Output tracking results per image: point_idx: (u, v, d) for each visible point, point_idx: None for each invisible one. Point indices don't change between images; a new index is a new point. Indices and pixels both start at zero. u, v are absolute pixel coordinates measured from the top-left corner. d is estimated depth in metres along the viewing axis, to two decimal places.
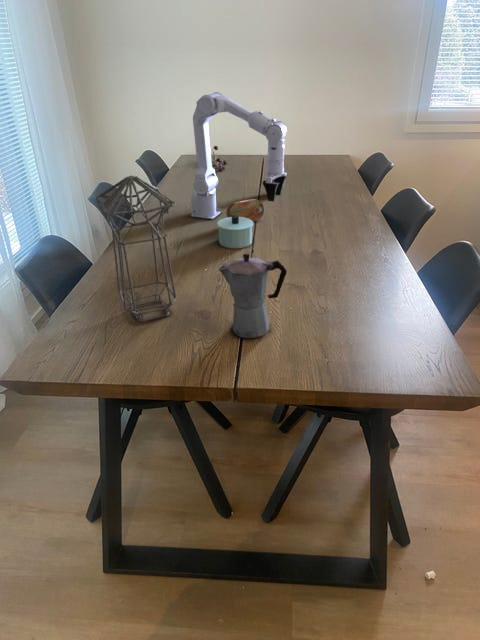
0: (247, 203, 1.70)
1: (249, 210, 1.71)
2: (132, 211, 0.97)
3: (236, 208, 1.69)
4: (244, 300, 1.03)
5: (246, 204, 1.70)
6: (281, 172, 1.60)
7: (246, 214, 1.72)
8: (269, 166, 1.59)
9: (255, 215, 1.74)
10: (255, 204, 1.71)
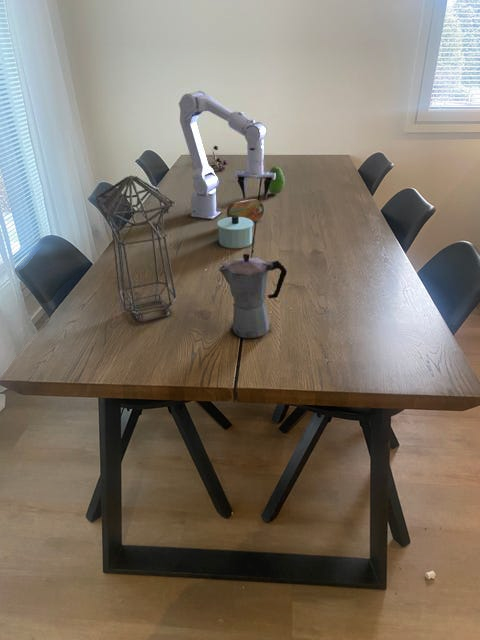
0: (247, 203, 1.70)
1: (249, 210, 1.71)
2: (132, 211, 0.97)
3: (236, 208, 1.69)
4: (244, 300, 1.03)
5: (246, 204, 1.70)
6: (251, 173, 1.61)
7: (246, 214, 1.72)
8: None
9: (256, 215, 1.74)
10: (255, 204, 1.71)
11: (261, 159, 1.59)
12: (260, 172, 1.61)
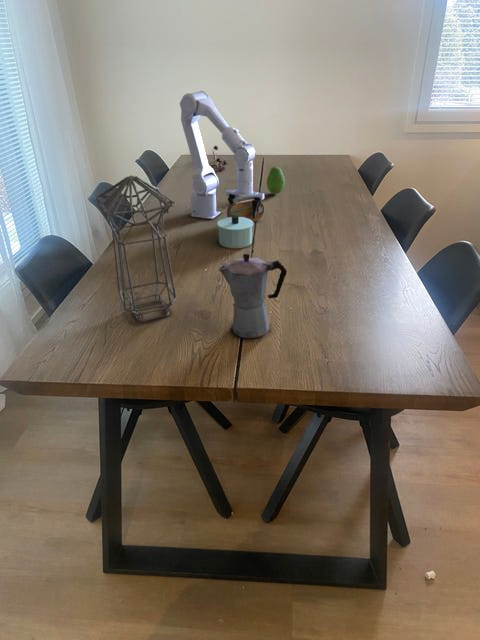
0: (247, 203, 1.70)
1: (249, 210, 1.71)
2: (132, 211, 0.97)
3: (236, 208, 1.68)
4: (244, 300, 1.03)
5: (246, 204, 1.70)
6: (239, 192, 1.66)
7: (247, 214, 1.72)
8: None
9: None
10: None
11: (250, 179, 1.63)
12: (248, 192, 1.65)
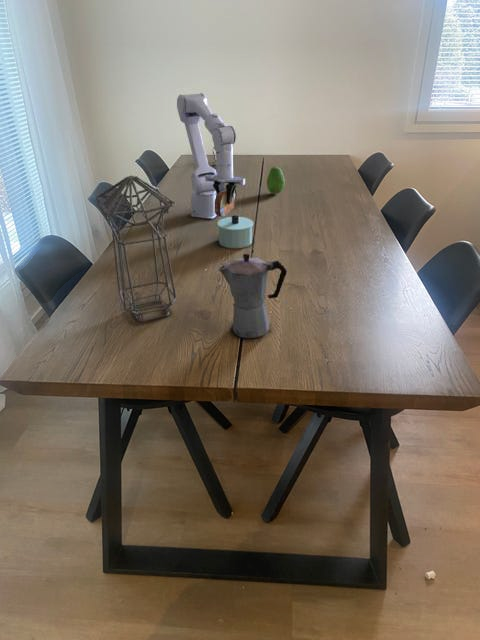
0: None
1: None
2: (132, 211, 0.97)
3: (223, 199, 1.60)
4: (244, 300, 1.03)
5: None
6: (219, 177, 1.58)
7: None
8: None
9: (232, 202, 1.68)
10: None
11: (226, 164, 1.55)
12: (228, 177, 1.57)
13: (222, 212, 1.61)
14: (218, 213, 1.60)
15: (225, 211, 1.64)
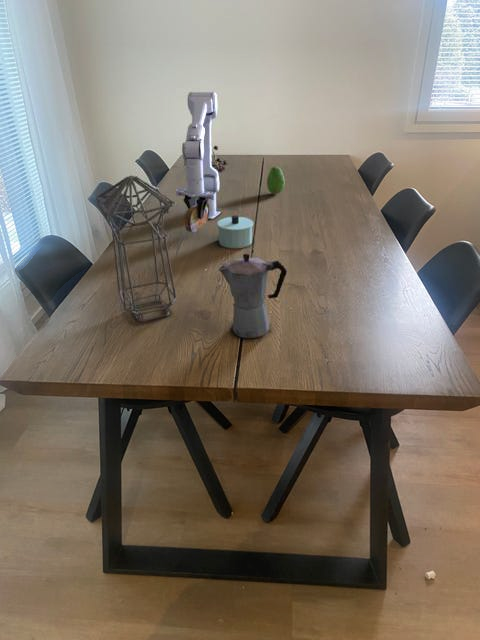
0: None
1: None
2: (132, 211, 0.97)
3: (193, 215, 1.55)
4: (244, 300, 1.03)
5: None
6: (189, 192, 1.53)
7: None
8: None
9: (204, 217, 1.64)
10: None
11: (190, 178, 1.50)
12: (198, 191, 1.53)
13: (193, 228, 1.57)
14: (189, 229, 1.56)
15: (197, 226, 1.60)
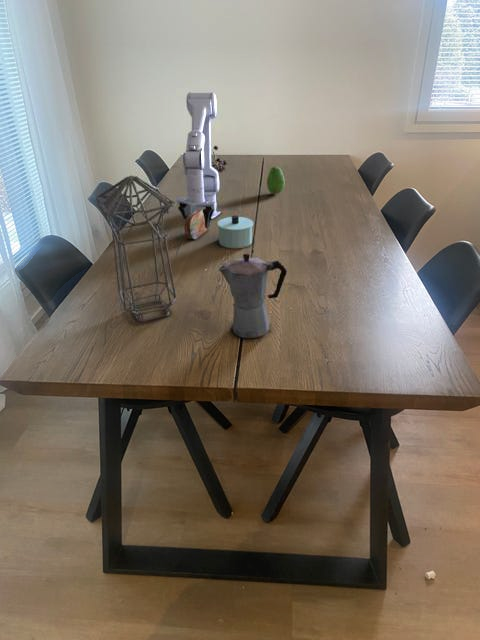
0: (198, 214, 1.60)
1: (200, 221, 1.62)
2: (132, 211, 0.97)
3: (192, 222, 1.57)
4: (244, 300, 1.03)
5: (198, 215, 1.60)
6: (190, 201, 1.55)
7: (199, 225, 1.62)
8: None
9: (204, 225, 1.65)
10: None
11: (191, 188, 1.52)
12: (199, 200, 1.54)
13: (193, 235, 1.58)
14: (189, 235, 1.57)
15: (197, 233, 1.61)
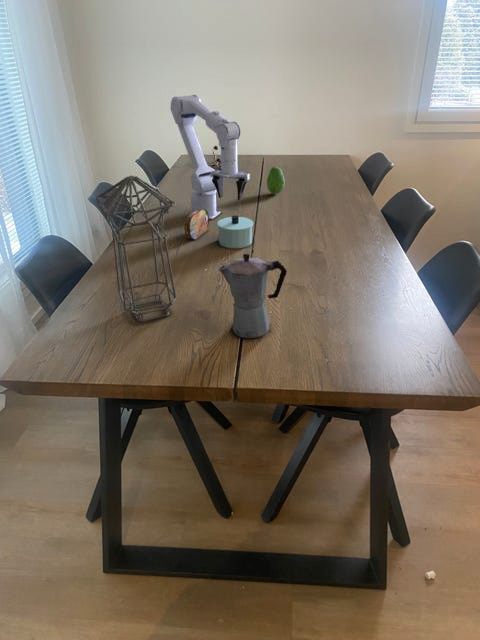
0: (198, 214, 1.60)
1: (200, 221, 1.62)
2: (132, 211, 0.97)
3: (192, 222, 1.57)
4: (244, 300, 1.03)
5: (198, 215, 1.60)
6: (223, 172, 1.59)
7: (199, 225, 1.62)
8: None
9: (204, 225, 1.65)
10: (203, 213, 1.63)
11: (232, 159, 1.56)
12: (233, 172, 1.59)
13: (193, 235, 1.58)
14: (189, 235, 1.57)
15: (197, 233, 1.61)
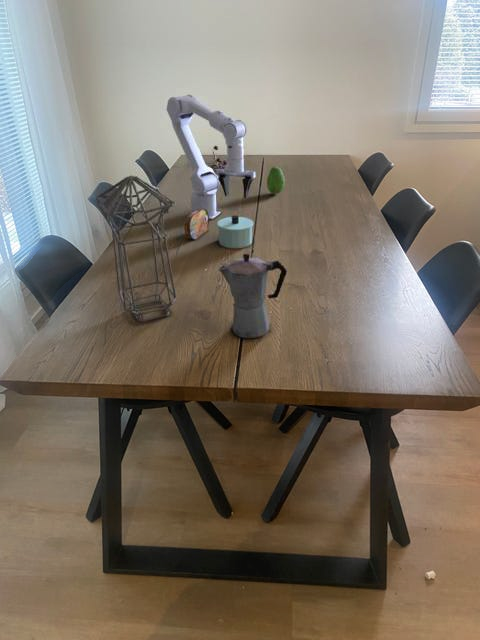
0: (198, 214, 1.60)
1: (200, 221, 1.62)
2: (132, 211, 0.97)
3: (192, 222, 1.57)
4: (244, 300, 1.03)
5: (198, 215, 1.60)
6: (230, 171, 1.61)
7: (199, 225, 1.62)
8: None
9: (204, 225, 1.65)
10: (203, 213, 1.63)
11: (239, 157, 1.58)
12: (239, 170, 1.60)
13: (193, 235, 1.58)
14: (189, 235, 1.57)
15: (197, 233, 1.61)
